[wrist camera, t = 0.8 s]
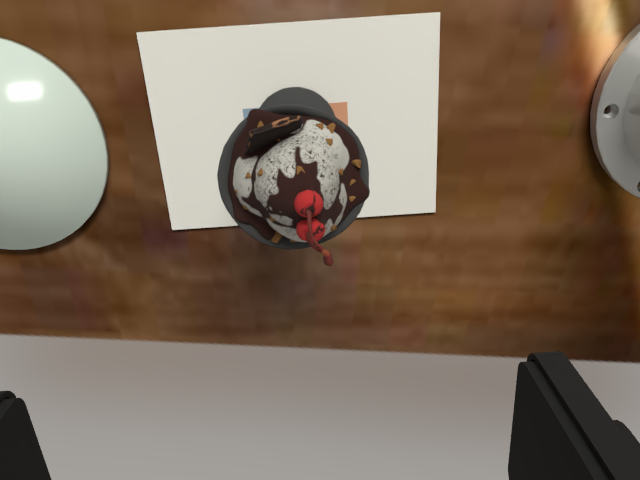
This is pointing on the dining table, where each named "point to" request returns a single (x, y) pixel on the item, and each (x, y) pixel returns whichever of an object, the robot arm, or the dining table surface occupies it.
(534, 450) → the robot arm
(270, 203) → the sundae
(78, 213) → the plate
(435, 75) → the tile
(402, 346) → the dining table surface
